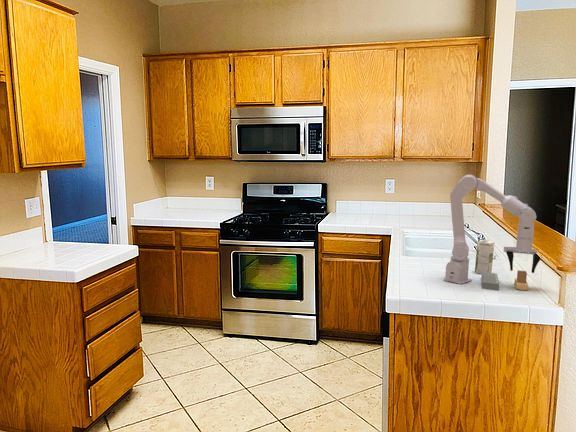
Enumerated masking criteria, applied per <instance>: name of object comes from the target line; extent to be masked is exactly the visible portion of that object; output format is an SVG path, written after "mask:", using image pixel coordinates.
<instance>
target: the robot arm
mask: <svg viewBox="0 0 576 432" xmlns="http://www.w3.org/2000/svg"><path fill="white" fill-rule="evenodd" d="M473 190H475V191H478V192H484V193H486V194H487V195H489V196H491V197H492V198H494V199H495V200H496V201H498V202H500V206H501V208H503V209H504V210H506V211H508V212H509V213H510V214H512V215H513V216H515V217H518V226H517V234H516V244H515V246H503V253H506V256H507V258H508V261H509V270H510V272H512V271H514V270H513V269H514V268H513V267H514V265H513V264H514V263H513V262H514V253H516V254H525V255H526V254H527V255H532V265H531V273H532V274H535V270H536V268H537V266H538V264H539V262H540V261H541V259H540V257H539V256H538V255H537V254H536V253H537V251H538V250H535V249H536V248H533V245H534V244H533V243H534V233H535V221H536V220H537V217H538V216H537V214H536V211H535V210H534V209H533V208H532V207H531V206H529V204H528V203H523V202H522V201H520V200H519V199H518V197H517V196H516V195H512V194H511V195H505V194H504V193H502V192H501V191H500V190H498V189H497V188H495V187H494V186H493V185H492V184H489V183H488V182H487V181H485V180H483V179H481V178H479V177H476V176H475V175H474V174H473V175H472V174H465V175H464V176H463V177H461V178H460V179H459V180H458V181H457V183H456V184H455V186H454V188H453V189H452V191H451V192H450V194H449V197H450V201H449V202H450V211H451V220H452V221H451V222H452V233H453V235H452V236H453V247H452V251H451V254H452V256H450V259H449V260H450V261H449V262H447V263H446V266H445V275H444V276H445V278H443V279H442V280H443V281H445V282H450V283H454V284H458V285H463V284H465V283H468V282H471V281H473V279H472V278H469V270H470V269H469V268H470V266H469V265H470V258H469V257H468V256H469V251H470V248H469V246H468V244H467V241H466V232H465V219H464V207H463V198H464V197H465V196H467V194H468V193H470V192H472V191H473Z"/></svg>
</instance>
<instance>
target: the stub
mask: <svg viewBox="0 0 576 432" xmlns="http://www.w3.org/2000/svg"><path fill="white" fill-rule="evenodd" d="M516 274H517V275H516V277H515V278H514V282H513V283H514V286H515V289H516V290H522V291H528V289H529V284H528V282H527V279H528V278H527V275H528V273H527V271H526V270H520V269H519V270H517V273H516Z"/></svg>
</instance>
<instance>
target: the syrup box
mask: <svg viewBox="0 0 576 432" xmlns="http://www.w3.org/2000/svg"><path fill="white" fill-rule="evenodd" d="M494 249H495V242H494V241H491V240H485V239H481V240H479V241H477V242H476V254H475V267H474V273H475V274H478V275H482V272H485V273H493V272H492V271H493V261H494Z"/></svg>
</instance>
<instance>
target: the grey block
mask: <svg viewBox="0 0 576 432" xmlns="http://www.w3.org/2000/svg"><path fill="white" fill-rule="evenodd" d="M481 289H484V290H490V291H491V290H492V291H499V289H500V281H499V276H498V273H495V272H491V273H485V272H482V274H481Z"/></svg>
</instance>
